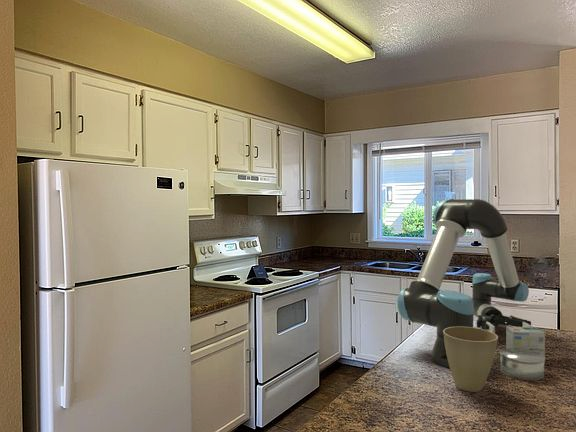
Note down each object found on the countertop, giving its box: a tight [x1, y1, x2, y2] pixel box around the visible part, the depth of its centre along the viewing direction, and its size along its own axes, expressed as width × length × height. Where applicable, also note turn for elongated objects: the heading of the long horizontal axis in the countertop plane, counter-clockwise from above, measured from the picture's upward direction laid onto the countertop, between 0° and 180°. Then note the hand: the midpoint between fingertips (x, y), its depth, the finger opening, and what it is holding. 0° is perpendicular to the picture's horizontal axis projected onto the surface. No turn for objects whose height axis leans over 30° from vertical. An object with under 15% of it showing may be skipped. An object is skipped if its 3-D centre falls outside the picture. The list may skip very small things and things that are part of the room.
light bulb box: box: [505, 325, 546, 364], centre depth 154 cm, size 11×7×11 cm, turn 84°
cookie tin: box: [499, 347, 546, 381], centre depth 143 cm, size 13×13×6 cm
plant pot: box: [443, 326, 499, 393], centre depth 131 cm, size 15×15×16 cm
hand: (512, 330), depth 164 cm, fingers open, 13 cm apart
